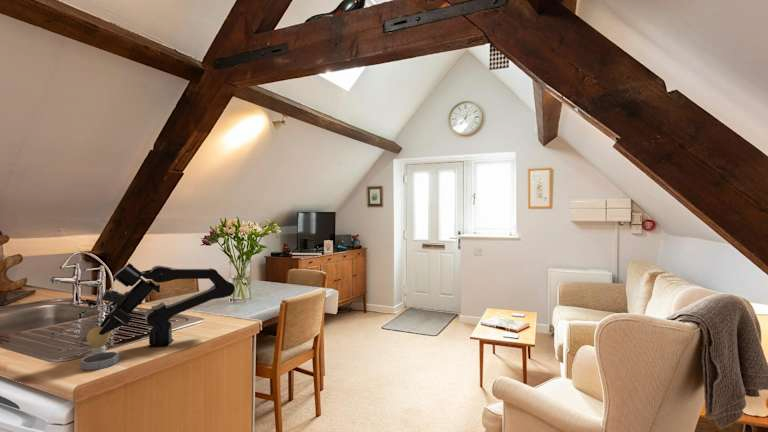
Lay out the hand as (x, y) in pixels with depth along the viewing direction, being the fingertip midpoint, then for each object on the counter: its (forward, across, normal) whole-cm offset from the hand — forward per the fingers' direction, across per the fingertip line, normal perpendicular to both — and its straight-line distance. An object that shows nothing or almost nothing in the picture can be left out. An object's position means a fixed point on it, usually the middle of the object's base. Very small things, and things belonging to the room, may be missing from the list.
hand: (100, 331), depth 131 cm
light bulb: (+7, 0, +6) cm, 9 cm away
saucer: (+6, +10, +6) cm, 13 cm away
